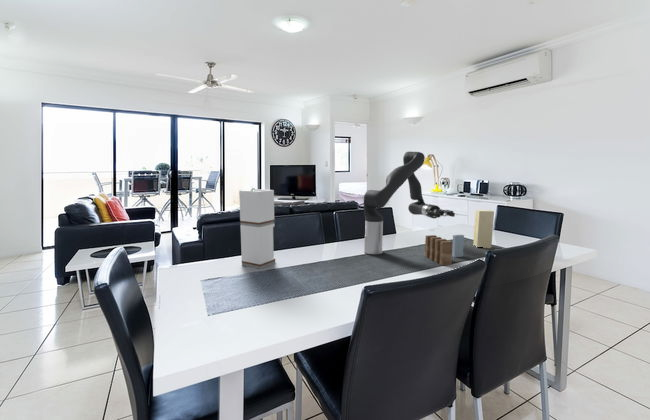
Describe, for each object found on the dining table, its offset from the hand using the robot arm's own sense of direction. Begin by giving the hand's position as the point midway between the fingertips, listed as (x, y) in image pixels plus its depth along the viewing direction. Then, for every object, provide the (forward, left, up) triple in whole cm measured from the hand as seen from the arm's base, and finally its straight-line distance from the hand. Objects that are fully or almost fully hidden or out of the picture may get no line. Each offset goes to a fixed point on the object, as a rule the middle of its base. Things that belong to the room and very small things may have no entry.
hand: (446, 215), depth 182 cm
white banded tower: (-90, -43, -20) cm, 102 cm away
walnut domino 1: (-9, -14, -20) cm, 26 cm away
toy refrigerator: (+22, +14, -20) cm, 33 cm away
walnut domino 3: (-5, -22, -20) cm, 30 cm away
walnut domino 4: (-3, -26, -20) cm, 33 cm away
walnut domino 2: (-7, -18, -20) cm, 28 cm away
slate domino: (+5, -10, -20) cm, 23 cm away
